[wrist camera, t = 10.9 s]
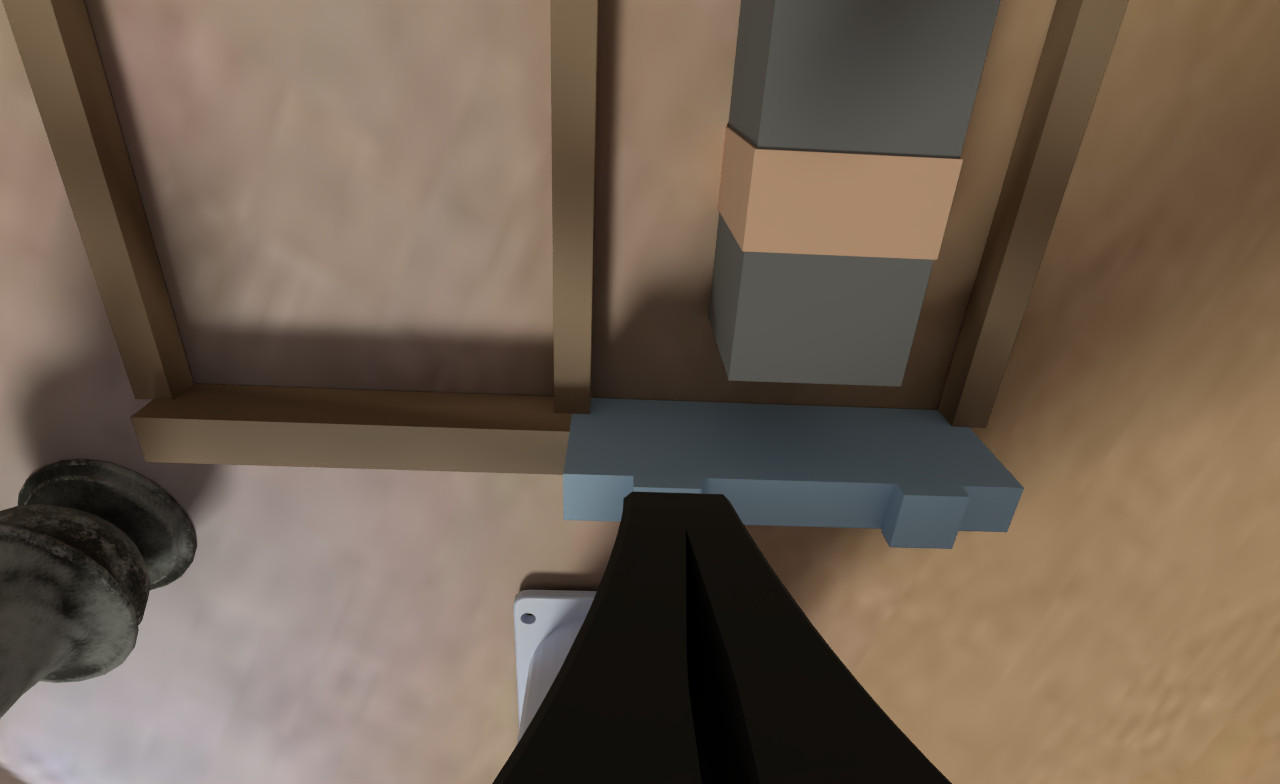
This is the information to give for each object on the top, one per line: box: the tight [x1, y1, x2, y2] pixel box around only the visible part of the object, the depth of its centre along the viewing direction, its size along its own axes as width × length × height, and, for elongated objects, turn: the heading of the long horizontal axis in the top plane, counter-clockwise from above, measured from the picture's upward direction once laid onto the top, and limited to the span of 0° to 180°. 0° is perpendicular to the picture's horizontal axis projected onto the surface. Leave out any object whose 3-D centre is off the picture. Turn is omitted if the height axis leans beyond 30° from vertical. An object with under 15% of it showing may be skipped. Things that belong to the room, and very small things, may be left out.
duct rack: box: [2, 0, 1129, 549], centre depth 15 cm, size 13×24×5 cm, turn 87°
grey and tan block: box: [709, 0, 1000, 387], centre depth 15 cm, size 8×4×4 cm, turn 177°
